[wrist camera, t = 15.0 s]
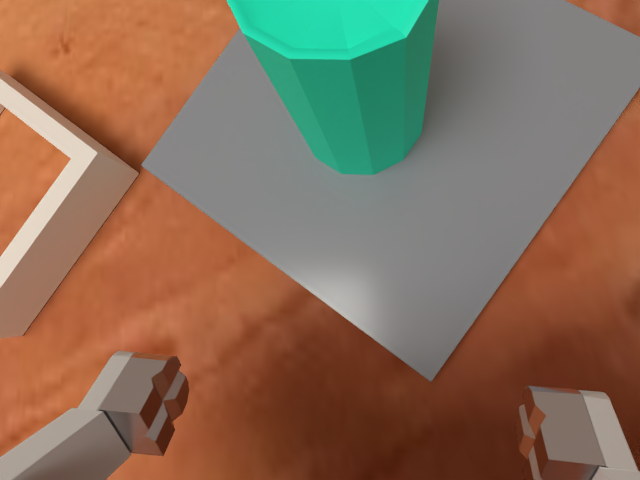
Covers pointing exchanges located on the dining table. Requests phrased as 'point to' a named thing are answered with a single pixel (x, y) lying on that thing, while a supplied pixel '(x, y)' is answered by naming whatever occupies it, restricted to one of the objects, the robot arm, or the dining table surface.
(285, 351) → the dining table surface
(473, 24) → the slate tile
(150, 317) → the dining table surface
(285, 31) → the candle
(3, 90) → the square frame
